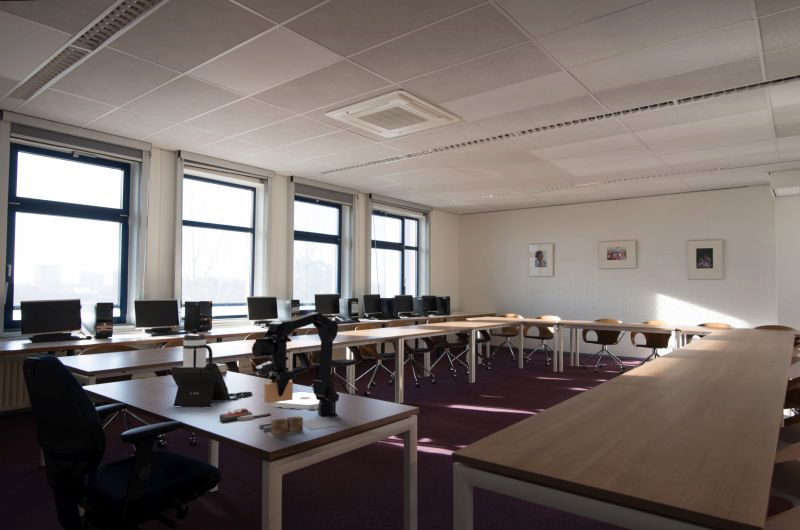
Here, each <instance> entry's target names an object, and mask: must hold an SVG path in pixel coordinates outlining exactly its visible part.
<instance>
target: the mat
mask: <svg viewBox="0 0 800 530" xmlns="http://www.w3.org/2000/svg"><path fill="white" fill-rule="evenodd" d="M336 426H341V423H338V422H336V421H335V420H332V419H331V418H328V417H319V418H313V419H308V420H303V427H306V428H307V429H309V430H311V431H315V430H319V429H325V428H330V427H336Z"/></svg>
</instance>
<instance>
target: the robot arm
mask: <svg viewBox="0 0 800 530" xmlns="http://www.w3.org/2000/svg"><path fill="white" fill-rule="evenodd" d="M309 325H313V327H315V328H316V329H317V335H318V339H319V340H320V352H319V353H320V354H319V370H318V371H319V372H318V376H317V378H316V379H314V380H313V382H312V383H313V386H312V391H313V393H314V394H315V395H316V399H317V400H319V404H318V409H317V415H318V416H321V417H322V418H324V417H326V418H328V417H335V416H338V413H337V411H336V408H337V407H336V406H337V403H336V402H338V401H339V398H340V395H339V393H338V392H337V391H336V390H335V384H334V383H335V382H334V380H333V378H332V363H333V362H332V361H333V347H334V345H333V344H334V341H335V339H336V337H337V336H338V332H339V324H338V323H337V322H336V321H335V320H332V319H330V317H329V318H328V317H327V316H325V315H323V313H320V312H319V311H317V312H316V311H315V312H313V311H312V312H310V313H307V314H304V315H300V316H298V317H295V318H291V319H289V320H288V319H287V320H277V321H271V322H270V325H269V327H268V329H267V330H266V332H265V334H264V336H263V337H262V338H259V337H258V338H255V342H253V344H252V347H251V352H252V355H253V357H255V358H261V357H268V356H269V358H268V360H267V361H266V362H263V363H261V364H259V365H256V366H255V370H256V372H257V375H258V376H260V377H264V376H266V375H267V378H268V379H269V380H271V382H277V387H278V394H279V396H282V395H283V392H284V390H285V388H286V386H287V384H288V382H289V380H290V381H291V380H295V379H296V372H295V371H293V370H290V369H289V367H287V366H288V365H287V364H288V363H287V361H288V360H289V356H288V348H287V347H288V345H287V344H288V342H289V343H290V342H292V339H291V338H289V335H290V334H291V335H292V333H293V332H294V331H295V330H298V329H300V328H304V327H306V326H309Z"/></svg>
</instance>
